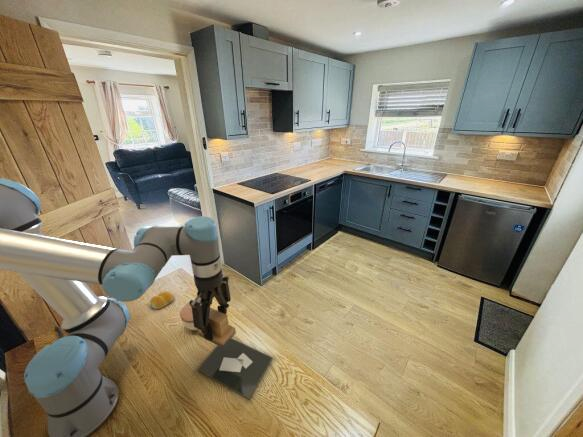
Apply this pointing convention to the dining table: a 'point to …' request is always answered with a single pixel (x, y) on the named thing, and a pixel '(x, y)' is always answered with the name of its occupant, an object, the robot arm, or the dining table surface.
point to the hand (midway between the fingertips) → (216, 329)
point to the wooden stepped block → (219, 328)
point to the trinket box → (187, 317)
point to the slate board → (236, 367)
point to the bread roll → (161, 300)
